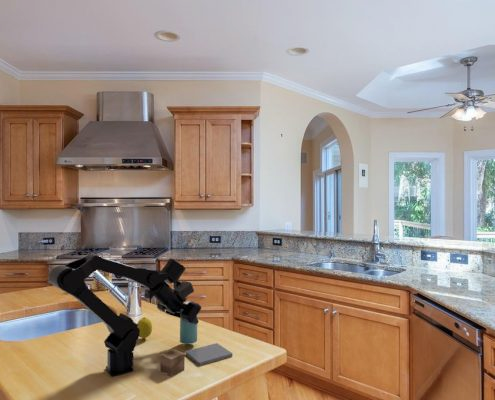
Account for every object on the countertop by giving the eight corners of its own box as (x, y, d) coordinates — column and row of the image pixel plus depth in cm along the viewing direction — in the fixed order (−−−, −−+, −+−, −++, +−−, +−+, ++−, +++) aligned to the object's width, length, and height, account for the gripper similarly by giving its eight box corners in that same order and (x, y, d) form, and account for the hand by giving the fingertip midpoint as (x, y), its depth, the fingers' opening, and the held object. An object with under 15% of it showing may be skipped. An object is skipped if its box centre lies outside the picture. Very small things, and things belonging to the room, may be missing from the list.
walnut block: (170, 376, 103) (171, 359, 103) (160, 371, 106) (160, 354, 106) (184, 370, 107) (184, 353, 107) (173, 365, 110) (174, 349, 110)
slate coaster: (199, 365, 110) (199, 362, 110) (185, 354, 118) (185, 351, 118) (232, 356, 117) (232, 353, 117) (217, 345, 125) (217, 343, 125)
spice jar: (184, 345, 121) (184, 306, 121) (177, 339, 126) (177, 302, 126) (200, 341, 124) (200, 304, 124) (192, 335, 129) (192, 300, 129)
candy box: (111, 288, 204) (111, 261, 204) (109, 290, 200) (109, 262, 200) (95, 288, 203) (96, 261, 204) (93, 290, 199) (93, 262, 199)
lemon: (153, 336, 133) (153, 314, 133) (149, 342, 128) (150, 319, 128) (138, 336, 133) (138, 314, 133) (134, 342, 127) (134, 319, 127)
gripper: (197, 279, 116) (221, 306, 124) (164, 271, 129) (189, 296, 137) (176, 309, 110) (203, 335, 118) (144, 297, 123) (171, 321, 131)
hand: (192, 320), depth 126 cm, fingers closed on spice jar, 6 cm apart
